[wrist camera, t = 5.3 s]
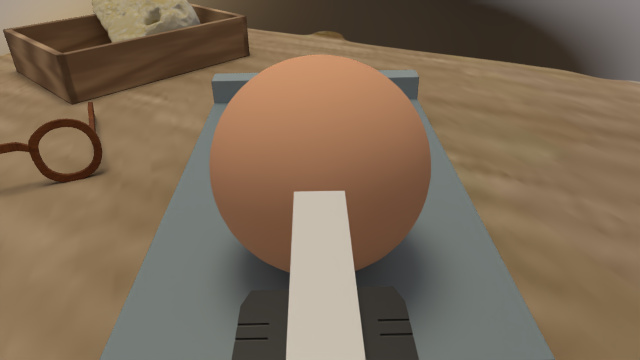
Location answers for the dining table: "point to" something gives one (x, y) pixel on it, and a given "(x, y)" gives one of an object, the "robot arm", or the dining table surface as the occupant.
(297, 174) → the ball
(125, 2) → the beige irregular lump
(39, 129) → the glasses
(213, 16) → the wooden tray
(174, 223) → the grey rectangular frame
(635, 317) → the dining table surface
